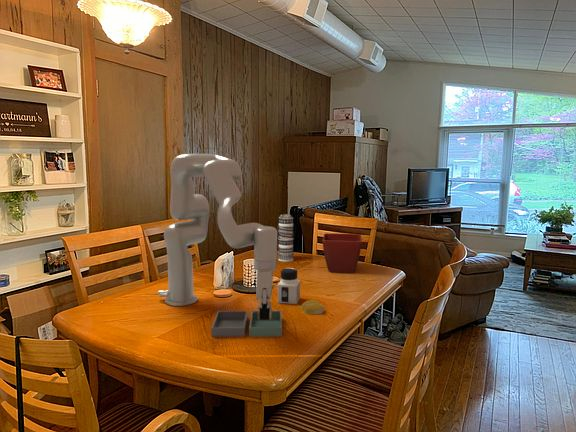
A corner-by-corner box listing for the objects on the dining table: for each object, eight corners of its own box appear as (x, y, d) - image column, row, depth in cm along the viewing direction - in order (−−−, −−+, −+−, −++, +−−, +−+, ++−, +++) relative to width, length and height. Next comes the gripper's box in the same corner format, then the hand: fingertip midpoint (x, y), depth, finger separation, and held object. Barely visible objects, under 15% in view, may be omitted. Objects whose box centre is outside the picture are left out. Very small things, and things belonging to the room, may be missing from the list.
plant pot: (323, 263, 232) (324, 232, 230) (360, 265, 230) (361, 233, 227) (321, 273, 214) (322, 240, 211) (361, 275, 211) (362, 241, 209)
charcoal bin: (211, 338, 140) (211, 328, 139) (217, 320, 155) (217, 311, 154) (244, 338, 140) (244, 328, 140) (247, 320, 155) (247, 310, 154)
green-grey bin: (249, 338, 140) (249, 327, 140) (251, 320, 155) (251, 310, 154) (281, 338, 140) (281, 327, 140) (281, 320, 155) (281, 310, 155)
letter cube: (257, 319, 145) (257, 306, 144) (258, 314, 150) (258, 301, 149) (271, 319, 145) (271, 306, 145) (271, 314, 150) (271, 301, 149)
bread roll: (307, 317, 158) (308, 307, 158) (298, 309, 167) (298, 299, 166) (328, 314, 161) (328, 304, 161) (318, 306, 170) (318, 296, 169)
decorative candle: (276, 261, 237) (275, 215, 233) (279, 257, 246) (279, 213, 242) (292, 262, 236) (292, 216, 232) (295, 258, 245) (295, 213, 241)
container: (296, 304, 171) (296, 272, 169) (277, 303, 173) (277, 271, 171) (300, 298, 179) (300, 267, 177) (281, 296, 180) (281, 266, 178)
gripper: (255, 257, 153) (254, 306, 156) (252, 271, 136) (252, 326, 139) (276, 257, 153) (275, 307, 156) (276, 271, 136) (275, 326, 139)
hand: (264, 315), depth 147 cm, fingers closed on letter cube, 4 cm apart
